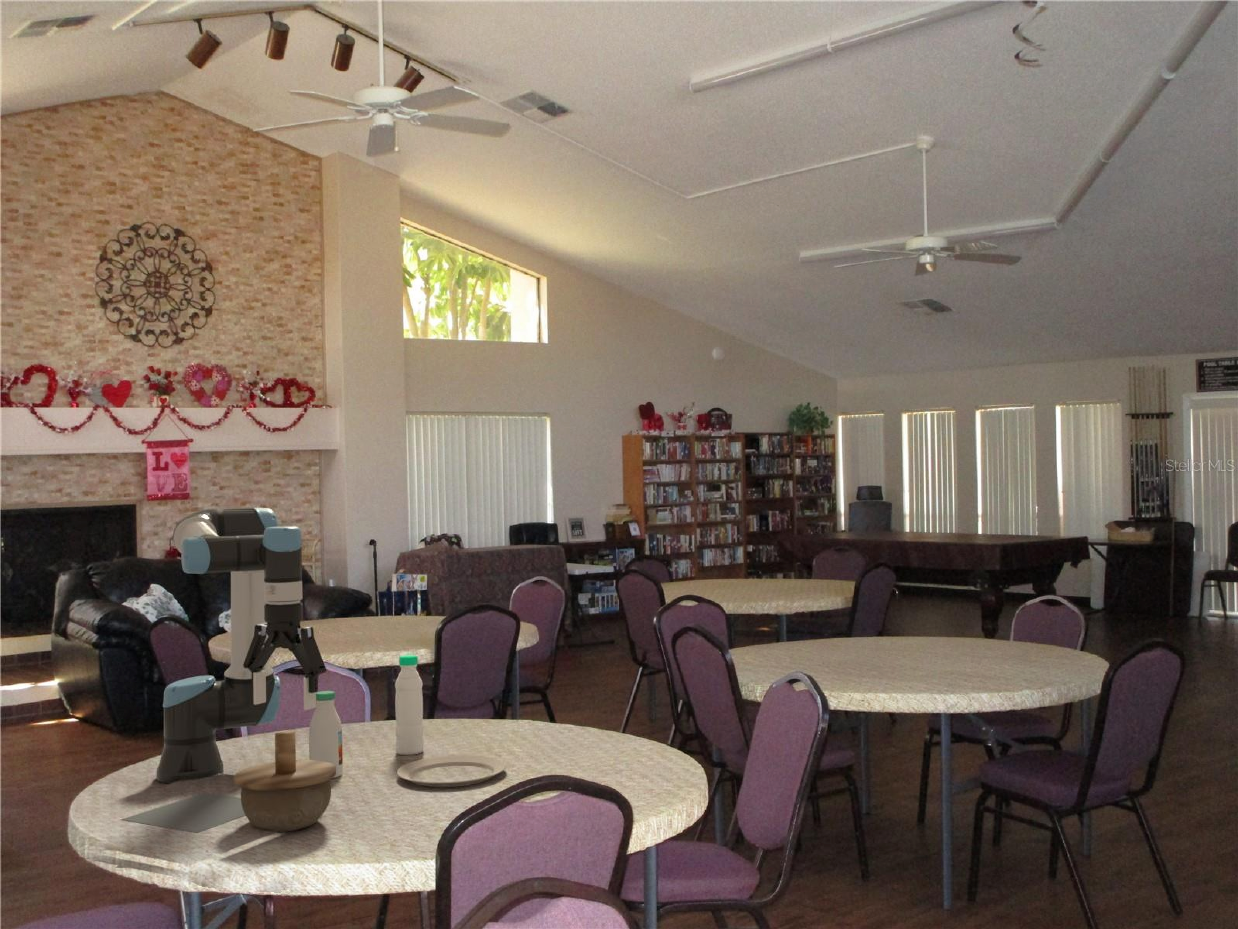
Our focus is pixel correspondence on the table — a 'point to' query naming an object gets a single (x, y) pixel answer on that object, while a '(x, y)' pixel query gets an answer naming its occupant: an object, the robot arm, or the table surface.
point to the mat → (193, 813)
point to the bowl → (286, 806)
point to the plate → (453, 760)
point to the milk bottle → (326, 732)
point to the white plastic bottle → (409, 708)
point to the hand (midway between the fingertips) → (284, 706)
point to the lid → (285, 769)
